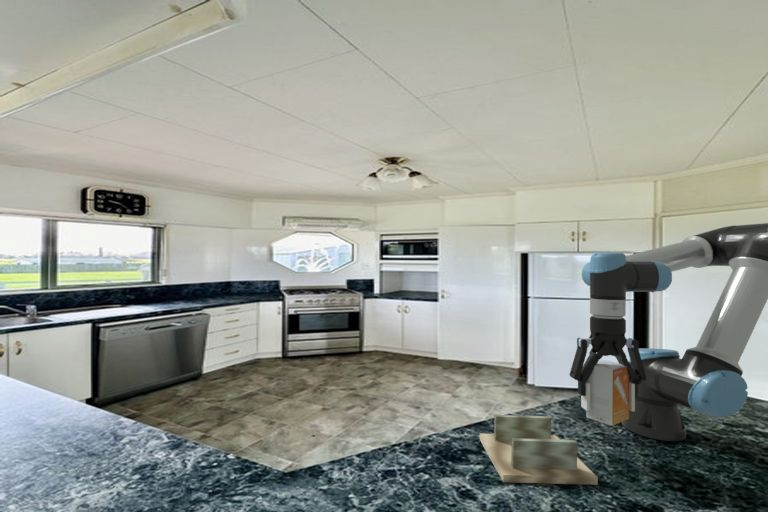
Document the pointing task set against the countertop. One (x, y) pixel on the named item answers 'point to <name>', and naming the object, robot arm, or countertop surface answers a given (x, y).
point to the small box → (609, 393)
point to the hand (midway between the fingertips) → (607, 409)
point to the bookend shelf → (534, 452)
